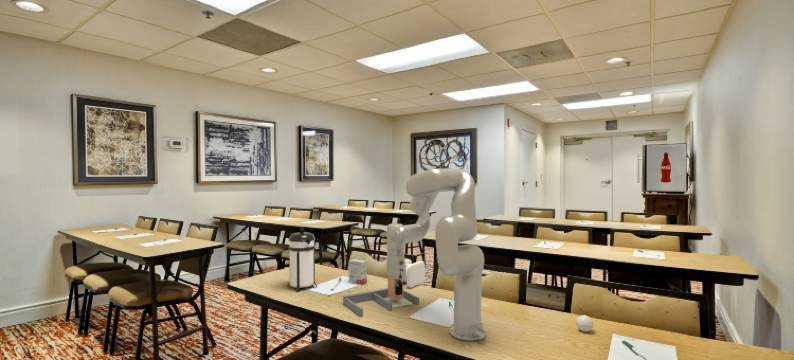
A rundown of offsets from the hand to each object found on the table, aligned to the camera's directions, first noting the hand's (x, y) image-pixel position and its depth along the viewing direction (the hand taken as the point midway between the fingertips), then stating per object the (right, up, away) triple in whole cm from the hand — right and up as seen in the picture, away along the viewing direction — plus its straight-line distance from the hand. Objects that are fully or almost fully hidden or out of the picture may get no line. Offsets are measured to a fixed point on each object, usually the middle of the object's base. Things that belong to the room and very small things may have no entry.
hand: (395, 292), depth 171 cm
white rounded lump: (+68, -5, -32) cm, 75 cm away
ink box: (-20, -4, +30) cm, 36 cm away
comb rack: (-6, -4, -3) cm, 8 cm away
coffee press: (-48, -4, +23) cm, 53 cm away
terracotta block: (0, -2, 0) cm, 2 cm away
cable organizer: (+6, -4, +27) cm, 28 cm away
